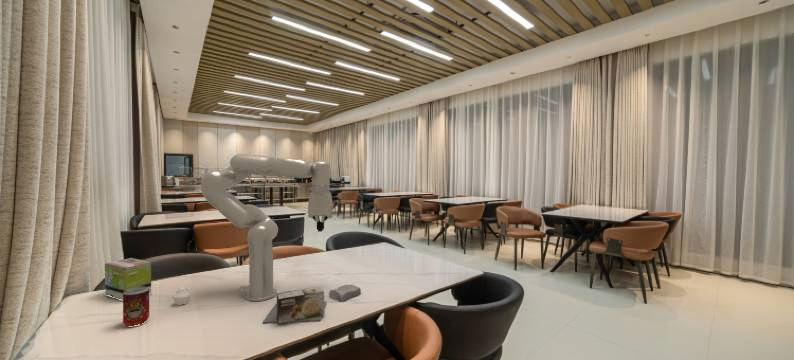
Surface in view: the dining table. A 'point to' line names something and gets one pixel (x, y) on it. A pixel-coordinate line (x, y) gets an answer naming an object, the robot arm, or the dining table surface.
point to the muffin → (181, 296)
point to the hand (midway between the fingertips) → (320, 231)
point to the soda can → (135, 305)
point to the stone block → (344, 292)
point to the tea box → (126, 276)
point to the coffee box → (300, 304)
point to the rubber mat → (273, 319)
